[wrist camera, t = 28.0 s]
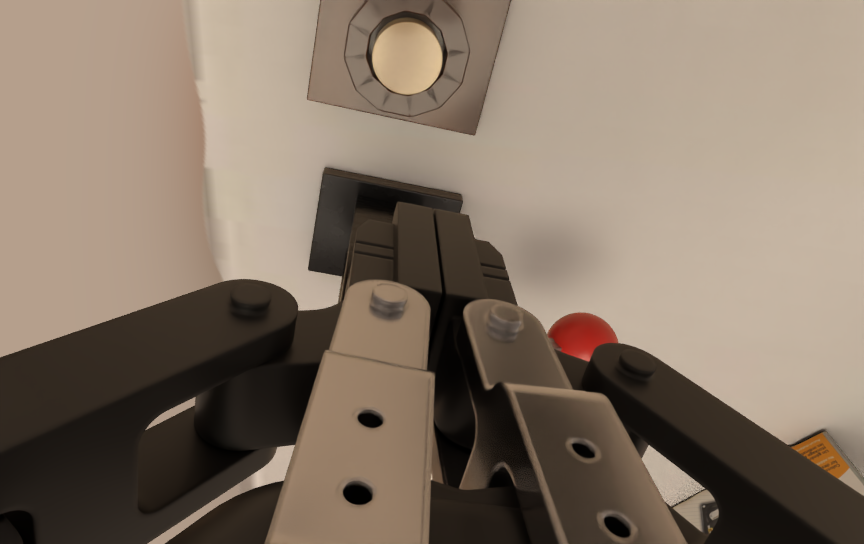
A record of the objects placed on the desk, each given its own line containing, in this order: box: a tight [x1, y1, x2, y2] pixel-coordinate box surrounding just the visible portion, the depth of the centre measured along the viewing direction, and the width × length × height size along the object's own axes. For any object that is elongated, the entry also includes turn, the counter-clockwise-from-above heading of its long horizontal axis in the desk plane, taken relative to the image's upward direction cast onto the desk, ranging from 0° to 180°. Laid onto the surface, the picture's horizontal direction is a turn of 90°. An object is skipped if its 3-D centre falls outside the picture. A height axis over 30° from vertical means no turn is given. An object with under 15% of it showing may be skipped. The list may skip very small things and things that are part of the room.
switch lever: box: [547, 313, 618, 362], centre depth 32 cm, size 15×4×4 cm, turn 78°
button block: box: [307, 0, 511, 135], centre depth 35 cm, size 10×8×4 cm
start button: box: [372, 17, 443, 95], centre depth 33 cm, size 4×4×2 cm
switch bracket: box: [308, 168, 463, 303], centre depth 35 cm, size 9×7×17 cm
